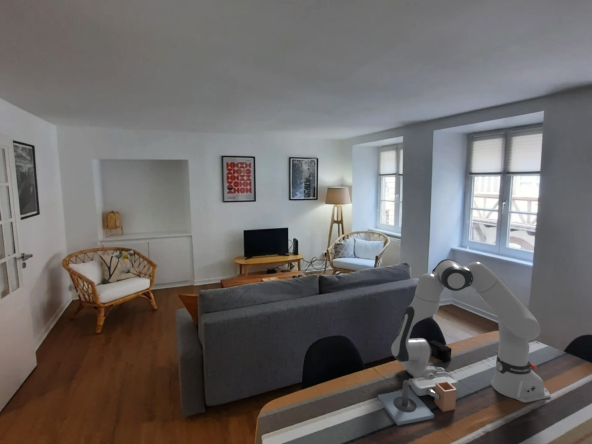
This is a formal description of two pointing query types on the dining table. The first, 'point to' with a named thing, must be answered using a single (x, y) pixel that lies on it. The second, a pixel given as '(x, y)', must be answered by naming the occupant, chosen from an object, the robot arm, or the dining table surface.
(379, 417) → the dining table surface
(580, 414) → the dining table surface
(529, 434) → the dining table surface
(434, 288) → the robot arm
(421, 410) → the post board
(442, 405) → the sleeve
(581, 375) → the dining table surface
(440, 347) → the digital camera
